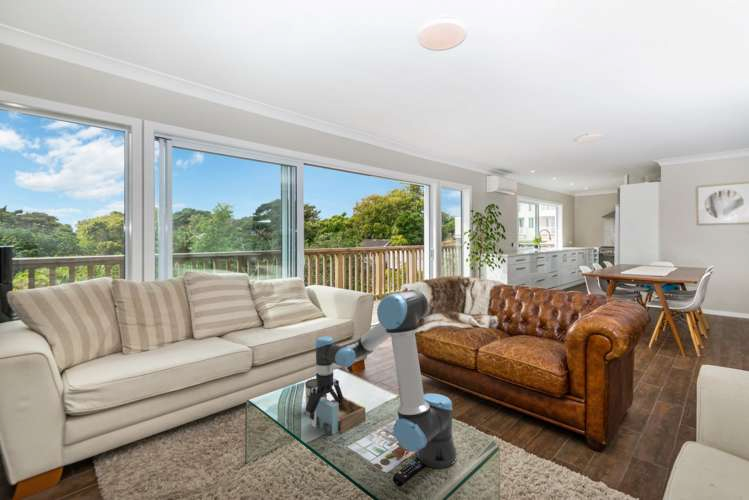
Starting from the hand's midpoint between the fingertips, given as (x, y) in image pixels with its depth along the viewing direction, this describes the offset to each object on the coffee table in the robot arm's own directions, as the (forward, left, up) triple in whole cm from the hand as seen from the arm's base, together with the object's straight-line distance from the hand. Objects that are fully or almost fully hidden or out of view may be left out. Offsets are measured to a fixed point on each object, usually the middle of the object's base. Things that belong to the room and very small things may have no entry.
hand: (325, 420), depth 161 cm
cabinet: (0, -6, -3) cm, 7 cm away
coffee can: (+15, -6, -3) cm, 16 cm away
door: (0, 0, -3) cm, 3 cm away
